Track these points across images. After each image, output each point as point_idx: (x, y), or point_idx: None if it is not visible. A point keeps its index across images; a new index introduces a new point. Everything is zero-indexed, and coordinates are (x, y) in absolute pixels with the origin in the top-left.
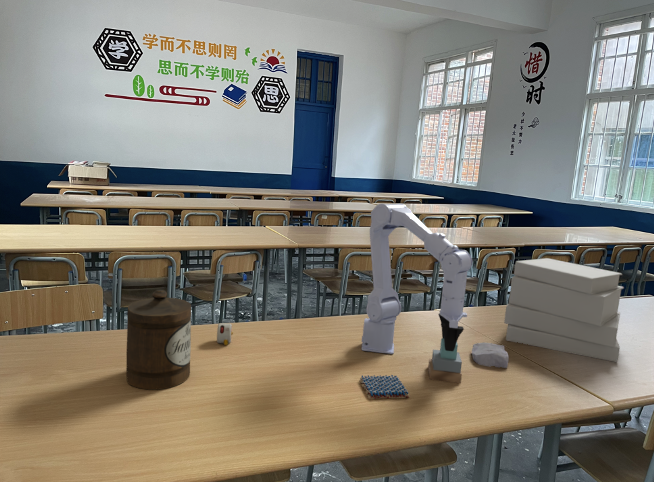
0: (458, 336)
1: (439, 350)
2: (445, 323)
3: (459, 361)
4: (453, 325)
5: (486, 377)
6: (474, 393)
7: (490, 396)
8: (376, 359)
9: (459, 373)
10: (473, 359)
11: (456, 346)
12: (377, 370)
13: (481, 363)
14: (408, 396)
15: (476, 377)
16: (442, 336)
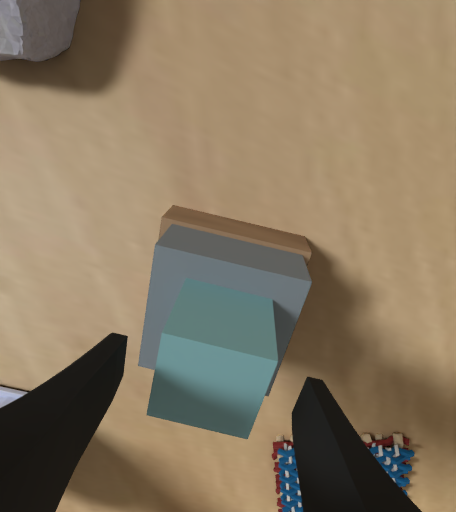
0: (413, 508)
1: (146, 340)
2: (47, 503)
3: (300, 291)
4: None
5: (241, 72)
6: (409, 212)
7: (452, 145)
8: (124, 449)
9: (306, 261)
10: (11, 58)
11: (274, 359)
12: (210, 462)
13: (67, 30)
14: (401, 436)
15: (244, 134)
16: (111, 400)
